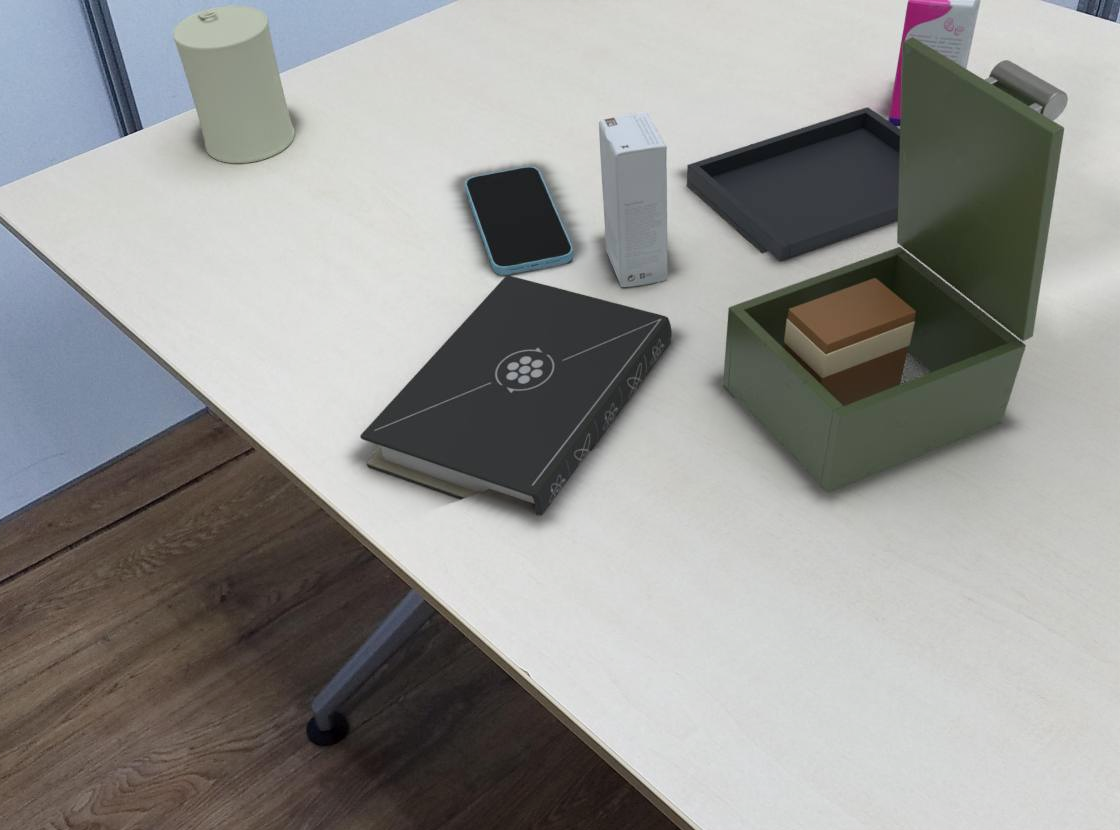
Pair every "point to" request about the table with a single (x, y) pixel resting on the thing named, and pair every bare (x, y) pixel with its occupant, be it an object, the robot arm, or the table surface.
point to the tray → (806, 184)
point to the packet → (852, 340)
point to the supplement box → (936, 35)
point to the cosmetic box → (634, 198)
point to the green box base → (889, 416)
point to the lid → (979, 178)
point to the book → (518, 393)
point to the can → (235, 83)
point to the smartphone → (518, 220)
